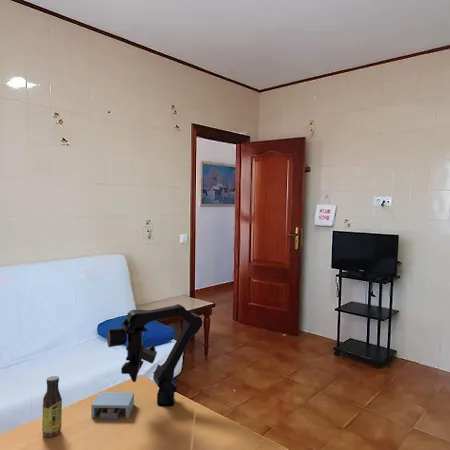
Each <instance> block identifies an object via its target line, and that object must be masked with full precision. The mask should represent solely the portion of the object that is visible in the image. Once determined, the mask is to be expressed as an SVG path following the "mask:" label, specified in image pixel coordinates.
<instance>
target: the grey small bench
mask: <svg viewBox="0 0 450 450" xmlns="http://www.w3.org/2000/svg"><path fill="white" fill-rule="evenodd" d="M134 405H135V393H134V392H120V391H119V392H117V391H116V392H114V391H113V392H111V391H110V392H105V391H104V392H100V391H99V393H98V394H97V395H96V397H95V399H94V400H93V402H92V403H91V405H90V407H91V418H92V419H94V418H96V415H97V414H98V412H99V410H100V408H101V409H103V408H122V409H125V419H129V417H130V415H131V413H132V411H133V408H134Z"/></svg>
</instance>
